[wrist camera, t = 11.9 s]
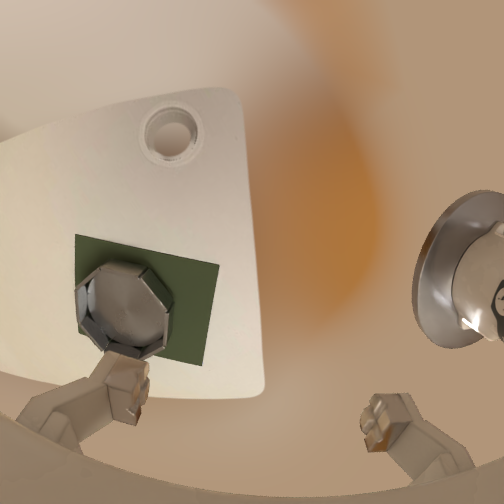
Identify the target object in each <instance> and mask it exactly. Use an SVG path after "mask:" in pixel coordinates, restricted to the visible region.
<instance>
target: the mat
mask: <svg viewBox="0 0 504 504" xmlns="http://www.w3.org/2000/svg"><path fill="white" fill-rule="evenodd" d="M108 259H109V260H110V259H116V260H121V261H125V262H130V263H134V264H139V265H144V266H147V270H148V269H149V268H150V269H151V270H152V272H153V273H154V274H155V276H156V277H157V278H158V280H159V281H160V282H161V283H162V285H163V286H164V287H165V288H166V290H167V291H168V292H169V293H170V295H171V296H172V297H173V298H174V299H173V301H174V302H175V305H174V315H173V326H172V334H171V337H170V339H169V341H168V344H167V346H166V347H165V349H164V350H162V351H160V352H158V353H156V354H154V355H155V356H159V357H163V358H167V359H171V360H176V361H180V362H184V363H189V364H194V365H199V366H202V362H203V356H204V350H205V344H206V338H207V332H208V326H209V320H210V315H211V309H212V303H213V298H214V292H215V287H216V281H217V276H218V270H219V265H217V264H212V263H207V262H202V261H197V260H192V259H187V258H182V257H178V256H173V255H168V254H163V253H159V252H154V251H149V250H145V249H140V248H135V247H131V246H126V245H122V244H117V243H113V242H108V241H104V240H99V239H95V238H90V237H86V236H81V235H77V234H75V287H76V286H77V285H79V284H80V283H81V282H82V281H83V280H84V279H85V278H87V277H88V276H89V275H90V274H91V273H92V272H94V271H95V270H96V269H97V268H98V267H100V266H101V265H102V264H103V263H105V262H106V261H107V260H108ZM147 270H146V271H147ZM146 271H145V272H146ZM92 279H93V278H92ZM92 279H91V280H92ZM91 280H89V281H88V282H89V284H90V282H91ZM89 313H90V312H89ZM78 324H79V323H78ZM78 330H79V333H80V334H83V335H86V334H85V332H84V331H83V330H82V329H81V328H80V326H79V325H78ZM86 336H87V335H86ZM110 341H111V340H110ZM141 347H144V346H141Z"/></svg>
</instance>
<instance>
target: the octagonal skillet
mask: <svg viewBox="0 0 504 504" xmlns="http://www.w3.org/2000/svg"><path fill="white" fill-rule="evenodd" d="M146 270H147V266H144V265H139V264H134V263H130V262H125V261H121V260H116V259H110V260H109V259H108V260H107V261H106V262H105V263H103V264H102V265H101V266H100V267H98V268H97V269H96V270H95V271H94V272H92V273H91V274H90V275H89V276H88V277H87V278H85V279H84V280H83V281H82V282H81V283H80V284H79V285H77V286H76V289H75V305H76V317H77V322H78V323H79V324H78V325H79V326H80V328H81V329H82V330H83V331H84V332H85V334H86V335H87V336H88V337H89V338H90V339H91V340H92V342H93V343H94V344H95V345H96V346H97V347H98V348H99V350H100V351H101V352H102V351H104V354H105V353H106V352H107V351H109V350H110V351H113V352H116V353H119V354H123V355H126V356H129V357H132V358H136V359H139V360H142V361H143V360H145V359H147V358H149V357H151V356H152V355H154V354H156V353H158V352H160V351H162V350H164V349H165V347H166V346H167V344H168V341H169V339H170V337H171V334H172V326H173V315H174V305H175V302H174V301H173V299H174V298H173V297H172V296H171V295H170V293H169V292H168V291H167V290H166V288H165V287H164V286H163V285H162V283H161V282H160V281H159V280H158V278H157V277H156V276H155V274H154V273H153V272H152V270H151V269H150V268H149V269H148V270H147V271H146ZM145 271H146V272H145ZM92 278H93V279H92ZM91 279H92V280H91ZM89 280H91V282H90V284H89V282H88V281H89ZM89 312H90V313H89ZM110 340H111V341H110ZM108 343H109V344H108ZM106 346H107V347H106ZM141 346H144V347H141ZM104 349H105V350H104Z"/></svg>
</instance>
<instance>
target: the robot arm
mask: <svg viewBox="0 0 504 504" xmlns="http://www.w3.org/2000/svg"><path fill="white" fill-rule="evenodd" d="M452 299H453V303H454V306H455V308H456V310H457V312H458V323H459V327H461V328H462V329H464V330H465V329H471V328H473V329H475V330H476V331H477V332H479V333H480V334H481V335H483V336H484V337H485V338H486V339H488V340H489V341H493V340H498V339H501V340H502V341H503V342H504V223H502V222H501V221H498V222H497V223H496V224H495V225H494V226H493V227H492V229H491V230H490V231H489V232H488V233H487V234H485V235H483V236H481V237H480V238H478V239H477V240H476V241H474V242H473V243H472V244H471V245H470V247H469V248H468V249H467V250H466V252H465V253H464V255H463V257H462V258H461V260H460V262H459V264H458V267H457V269H456V272H455V275H454V279H453V285H452ZM148 373H149V363H148V362H146V361H142V360H139V359H136V358H132V357H129V356H126V355H123V354H119V353H116V352H113V351H110V350H109V351H107V352H106V353H105V354H104V356H103V357H102V359H101V360H100V362H99V363H98V365H97V366H96V368H95V369H94V371H93V372H92V374H91V375H90V377H89V378H86V377H84V378H81V379H79V380H76V381H74V382H71V383H69V384H66V385H63V386H61V387H59V388H56V389H53V390H51V391H48V392H45V393H43V394H41V395H38V396H35V397H32V398H31V400H30V401H29V403H28V404H27V405H26V406H25V408H24V409H23V410H22V412H21V413H20V415H19V416H18V417H17V419H16V420H13V419H11V418H10V417H8V416H7V415H5V414H3V413H2V412H0V504H504V457H502V458H499V459H497V460H494V461H492V462H489V463H487V464H484V465H481V466H479V467H475V465H474V463H473V461H472V459H471V457H470V455H469V453H468V451H467V450H466V448H465V447H464V446H463V445H461V444H460V443H458V442H457V441H455V440H454V439H453V438H451V437H450V436H448V435H447V434H445V433H444V432H442V431H441V430H440V429H438V428H437V427H435V426H434V425H432V424H431V423H430V422H428V421H426V420H425V421H424V420H423V418H422V417H421V414H420V413H419V410H418V409H417V406H416V405H415V403H414V401H413V399H412V397H411V395H409V394H408V393H397V394H396V393H395V394H374V395H373V396H372V397H371V399H370V400H369V402H370V405H369V406H368V407H366V408H365V409H364V411H363V412H362V414H361V418H360V427H361V431H362V432H363V433H364V434H366V437H365V439H364V440H365V443H366V447H367V450H368V452H386V451H387V453H388V454H389V455H390V457H391V458H392V459H393V460H394V461H395V462H396V463H397V464H398V465H399V466H400V467H401V468H402V469H403V470H404V471H405V472H406V473H407V474H408V475H409V476H410V477H411V478H412V479H413V480H414V481H413V482H412V483H411V484H409V485H408V486H407V487H403V488H398V489H392V490H386V491H379V492H372V493H365V494H355V495H345V496H330V497H267V496H252V495H241V494H232V493H224V492H217V491H210V490H204V489H199V488H193V487H188V486H183V485H178V484H174V483H169V482H165V481H161V480H157V479H154V478H150V477H146V476H142V475H139V474H136V473H133V472H129V471H126V470H123V469H120V468H117V467H114V466H111V465H108V464H105V463H103V462H100V461H97V460H95V459H92V458H90V457H87V456H85V455H83V452H82V450H81V448H80V445H79V442H81V441H83V440H84V439H86V438H87V437H89V436H91V435H92V434H94V433H95V432H97V431H98V430H100V429H101V428H103V427H104V426H106V425H108V424H109V423H111V422H112V421H113V420H116V421H120V422H123V423H126V424H130V425H134V426H136V425H137V422H138V420H139V417H140V415H141V406H142V405H144V404H145V402H146V400H147V397H148V392H149V385H150V380H149V378H148V377H147V375H148Z"/></svg>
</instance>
